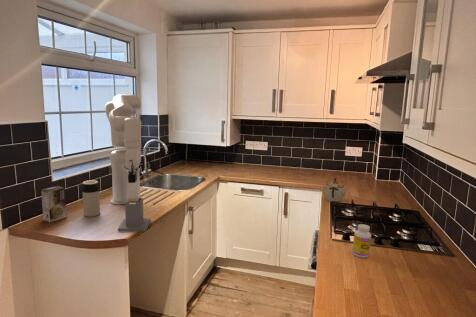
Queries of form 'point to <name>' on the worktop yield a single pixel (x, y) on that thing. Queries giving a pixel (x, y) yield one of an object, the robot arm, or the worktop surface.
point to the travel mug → (91, 198)
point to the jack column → (134, 188)
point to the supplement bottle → (362, 241)
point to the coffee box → (54, 203)
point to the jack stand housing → (134, 217)
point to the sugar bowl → (334, 191)
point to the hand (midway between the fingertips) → (133, 180)
